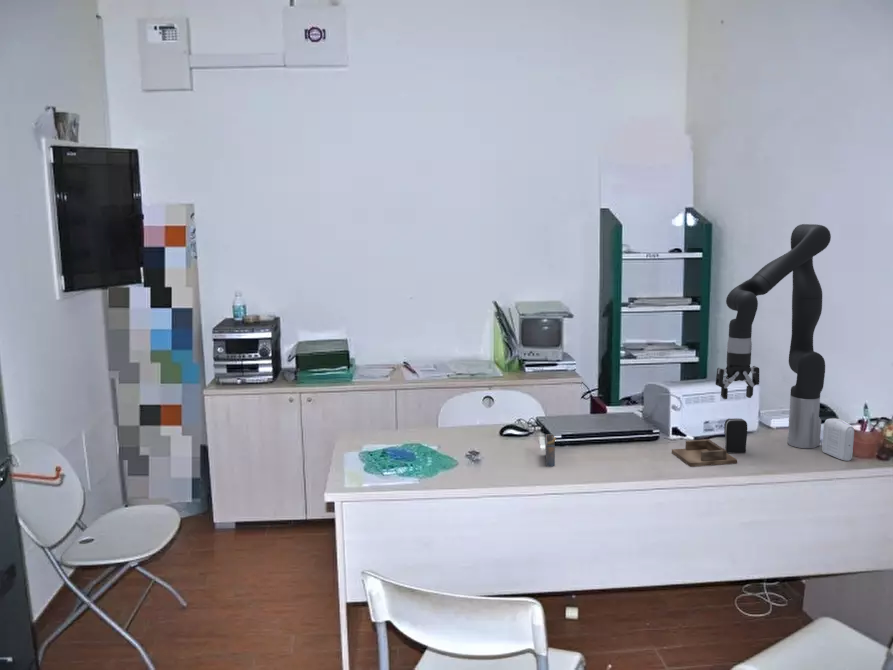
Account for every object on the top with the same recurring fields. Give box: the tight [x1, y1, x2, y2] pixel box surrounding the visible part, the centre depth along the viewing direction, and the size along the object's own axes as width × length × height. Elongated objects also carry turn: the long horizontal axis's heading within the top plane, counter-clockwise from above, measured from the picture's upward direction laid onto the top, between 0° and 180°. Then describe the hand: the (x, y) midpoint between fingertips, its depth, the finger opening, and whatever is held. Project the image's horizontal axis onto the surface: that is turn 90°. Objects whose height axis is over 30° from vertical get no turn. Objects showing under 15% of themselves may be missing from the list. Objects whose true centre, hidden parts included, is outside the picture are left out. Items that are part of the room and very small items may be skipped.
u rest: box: [671, 438, 738, 468], centre depth 255 cm, size 16×14×4 cm
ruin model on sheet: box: [545, 433, 557, 468], centre depth 255 cm, size 11×3×10 cm, turn 175°
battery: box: [723, 418, 748, 454], centre depth 260 cm, size 7×4×11 cm, turn 88°
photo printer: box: [821, 417, 855, 462], centre depth 253 cm, size 10×4×12 cm, turn 17°
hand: (736, 398), depth 257 cm, fingers open, 8 cm apart
